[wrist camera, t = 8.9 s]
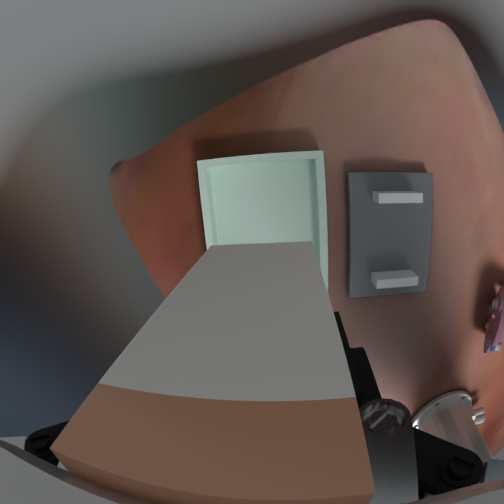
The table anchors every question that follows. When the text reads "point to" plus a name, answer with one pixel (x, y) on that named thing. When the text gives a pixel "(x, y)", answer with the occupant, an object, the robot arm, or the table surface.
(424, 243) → the block
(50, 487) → the robot arm
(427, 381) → the table surface
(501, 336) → the video game controller
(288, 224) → the tray
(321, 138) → the table surface
